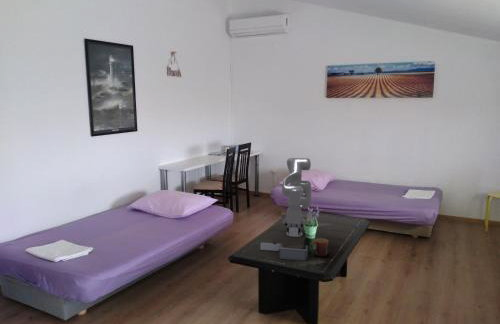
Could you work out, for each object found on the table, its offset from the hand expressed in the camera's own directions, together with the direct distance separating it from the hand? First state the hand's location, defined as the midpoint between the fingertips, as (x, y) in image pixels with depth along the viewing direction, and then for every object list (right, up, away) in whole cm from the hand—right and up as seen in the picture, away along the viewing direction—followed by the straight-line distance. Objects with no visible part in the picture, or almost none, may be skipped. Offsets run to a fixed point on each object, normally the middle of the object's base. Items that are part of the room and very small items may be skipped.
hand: (293, 232), depth 264 cm
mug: (+17, -16, +3) cm, 24 cm away
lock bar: (-15, -14, +11) cm, 24 cm away
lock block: (0, -1, 0) cm, 1 cm away
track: (-15, -14, +12) cm, 24 cm away
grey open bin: (0, -16, +1) cm, 16 cm away
